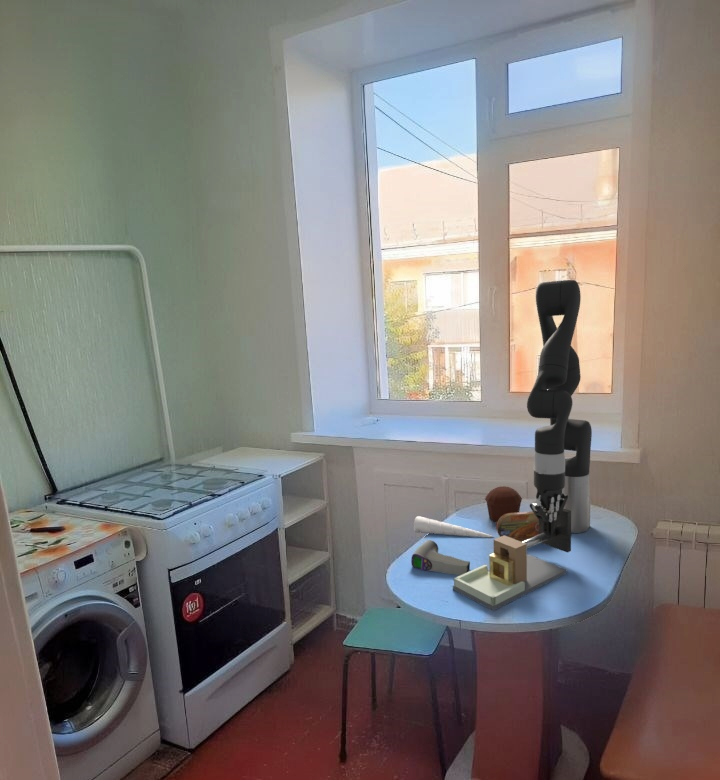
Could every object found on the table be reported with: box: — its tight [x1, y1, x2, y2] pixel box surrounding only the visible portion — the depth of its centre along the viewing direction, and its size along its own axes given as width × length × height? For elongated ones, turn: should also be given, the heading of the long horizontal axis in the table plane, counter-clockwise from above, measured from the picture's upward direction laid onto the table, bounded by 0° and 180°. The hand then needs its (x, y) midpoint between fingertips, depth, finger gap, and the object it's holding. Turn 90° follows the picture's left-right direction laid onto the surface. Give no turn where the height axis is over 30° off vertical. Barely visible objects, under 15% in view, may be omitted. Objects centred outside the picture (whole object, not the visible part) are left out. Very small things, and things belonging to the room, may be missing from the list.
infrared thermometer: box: [410, 539, 471, 576], centre depth 162 cm, size 5×12×15 cm
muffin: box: [484, 485, 523, 523], centre depth 190 cm, size 12×11×10 cm
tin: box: [496, 510, 539, 542], centre depth 174 cm, size 15×3×8 cm, turn 92°
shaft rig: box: [452, 535, 567, 612], centre depth 150 cm, size 28×13×11 cm, turn 126°
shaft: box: [506, 508, 572, 556], centre depth 154 cm, size 19×9×11 cm, turn 126°
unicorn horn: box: [413, 515, 494, 538], centre depth 180 cm, size 5×24×5 cm, turn 67°
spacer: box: [488, 552, 514, 586], centre depth 148 cm, size 2×6×6 cm, turn 36°
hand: (549, 533), depth 154 cm, fingers closed
